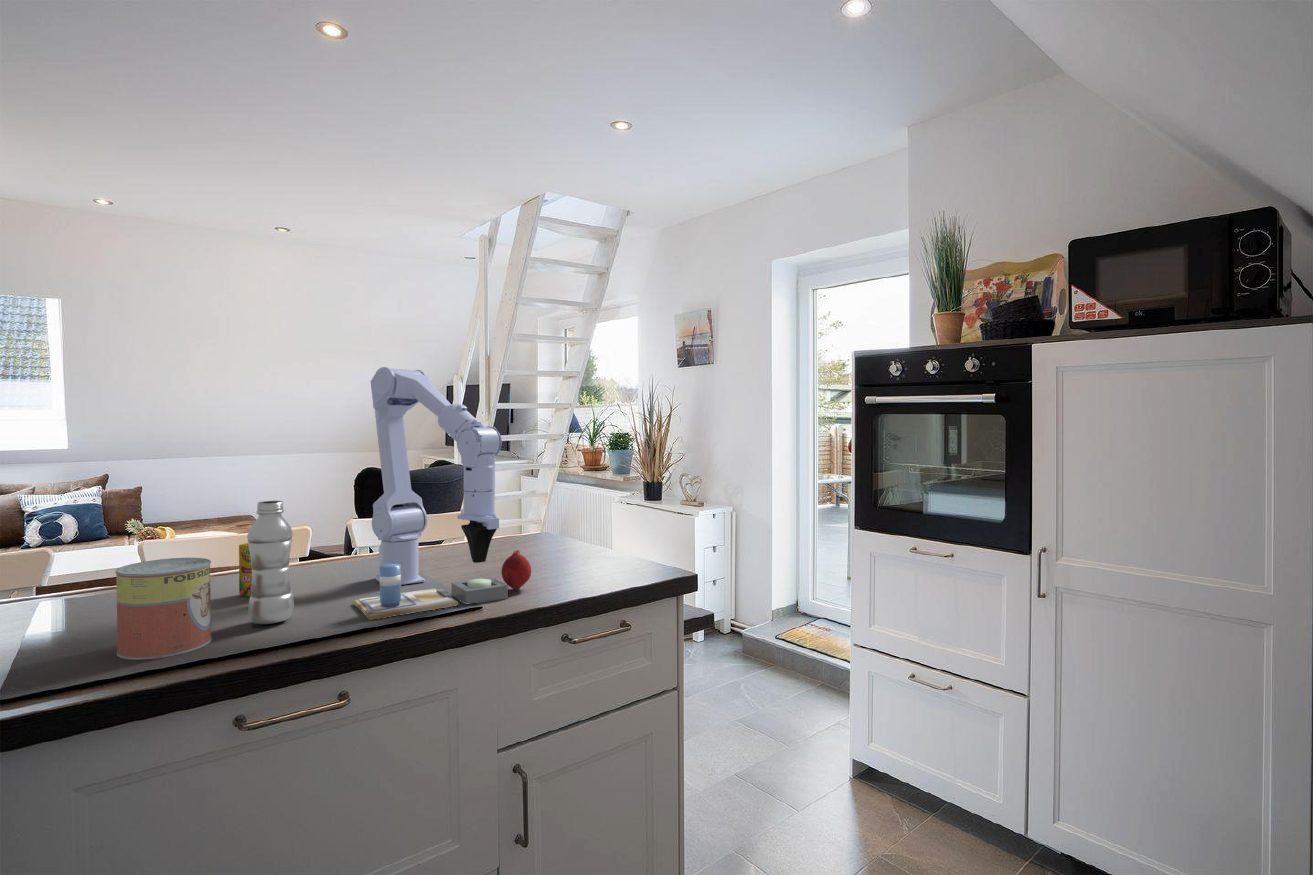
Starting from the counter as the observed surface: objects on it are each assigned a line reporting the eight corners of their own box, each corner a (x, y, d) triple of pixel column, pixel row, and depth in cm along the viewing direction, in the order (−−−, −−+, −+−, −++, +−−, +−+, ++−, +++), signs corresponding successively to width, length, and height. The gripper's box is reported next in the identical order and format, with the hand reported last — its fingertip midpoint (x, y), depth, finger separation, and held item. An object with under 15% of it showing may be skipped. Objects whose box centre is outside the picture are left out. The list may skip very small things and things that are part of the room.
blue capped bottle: (378, 604, 117) (378, 564, 117) (398, 601, 119) (398, 562, 119) (381, 608, 114) (381, 568, 114) (402, 606, 116) (402, 566, 116)
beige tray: (354, 604, 121) (354, 596, 121) (436, 592, 129) (436, 584, 129) (369, 620, 111) (369, 612, 111) (458, 606, 120) (458, 598, 120)
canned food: (190, 656, 94) (189, 572, 93) (98, 662, 91) (97, 575, 91) (224, 631, 105) (223, 556, 104) (143, 636, 102) (142, 558, 102)
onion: (527, 593, 129) (527, 552, 129) (498, 593, 129) (498, 552, 129) (533, 586, 135) (533, 547, 134) (505, 585, 135) (505, 546, 134)
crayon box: (238, 596, 126) (237, 534, 125) (252, 592, 128) (252, 532, 128) (265, 600, 123) (265, 537, 123) (280, 596, 126) (279, 535, 125)
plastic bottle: (303, 618, 112) (302, 500, 111) (268, 630, 105) (267, 505, 105) (274, 614, 114) (273, 498, 113) (238, 626, 107) (236, 503, 107)
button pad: (451, 595, 127) (451, 582, 127) (491, 589, 132) (491, 576, 132) (466, 605, 121) (466, 591, 121) (507, 598, 125) (507, 585, 125)
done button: (463, 591, 127) (463, 580, 127) (486, 587, 129) (486, 577, 129) (472, 596, 123) (472, 585, 123) (494, 592, 126) (494, 582, 126)
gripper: (445, 487, 129) (445, 557, 130) (472, 495, 117) (472, 571, 118) (480, 486, 133) (480, 553, 134) (510, 493, 122) (509, 566, 122)
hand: (478, 561), depth 126 cm, fingers closed
